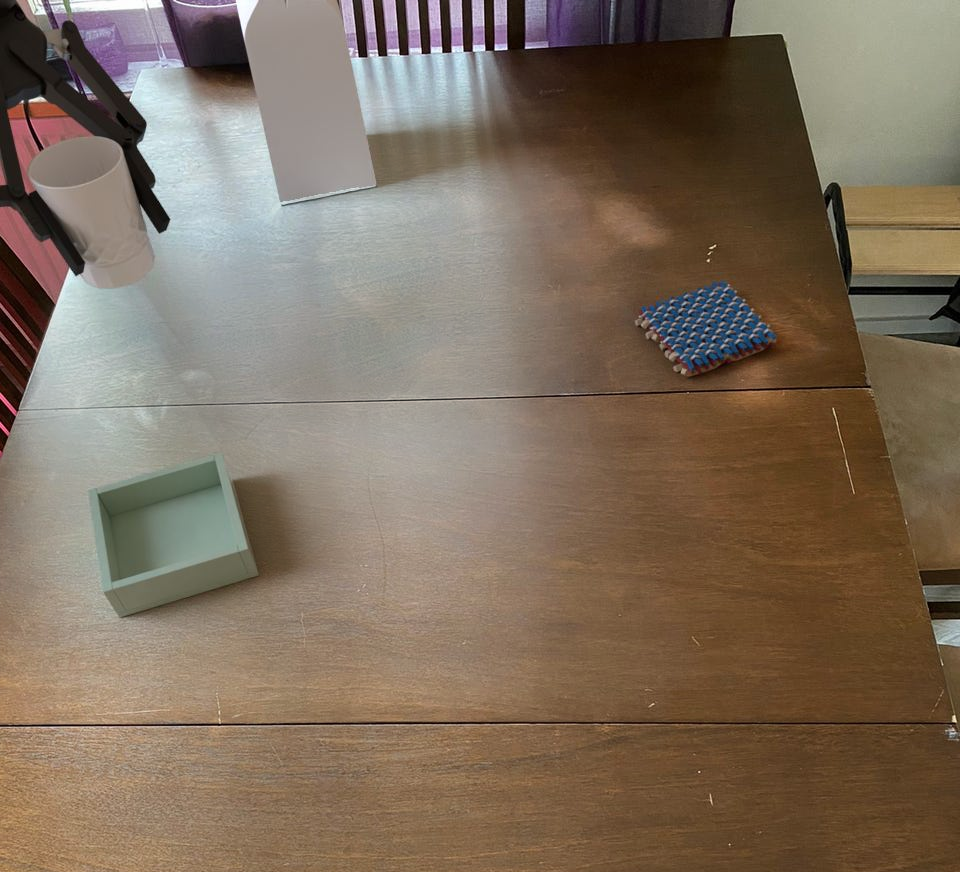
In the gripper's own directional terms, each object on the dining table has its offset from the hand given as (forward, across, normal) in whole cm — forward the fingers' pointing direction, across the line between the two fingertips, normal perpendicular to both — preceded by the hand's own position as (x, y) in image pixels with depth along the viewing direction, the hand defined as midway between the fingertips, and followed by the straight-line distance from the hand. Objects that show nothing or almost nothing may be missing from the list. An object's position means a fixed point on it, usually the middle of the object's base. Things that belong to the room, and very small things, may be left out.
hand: (123, 247), depth 86 cm
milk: (-4, -34, -27) cm, 43 cm away
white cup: (0, 0, -5) cm, 5 cm away
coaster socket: (+24, +11, 0) cm, 26 cm away
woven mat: (+34, -42, +11) cm, 55 cm away
